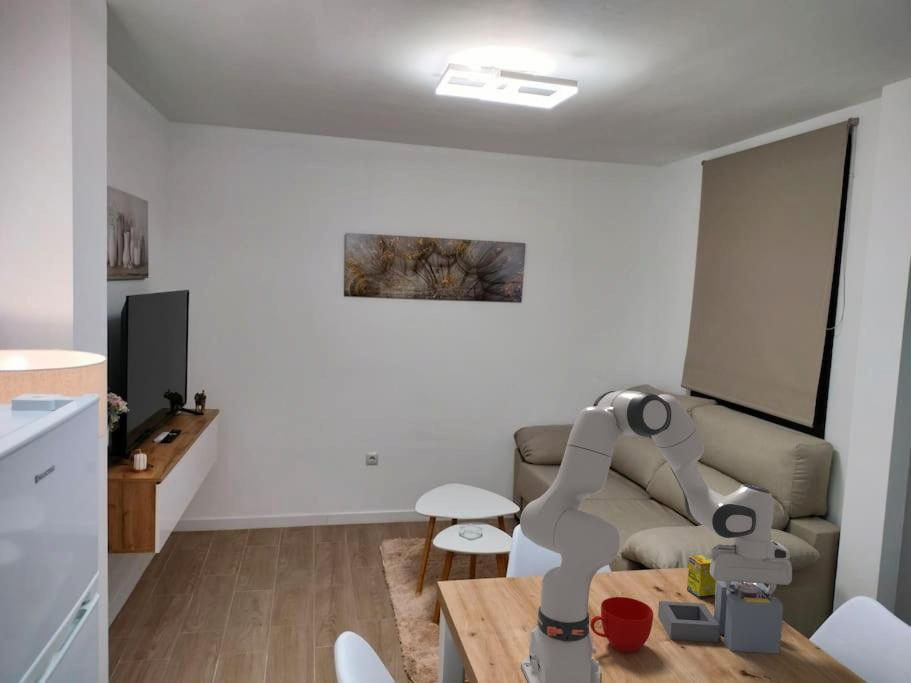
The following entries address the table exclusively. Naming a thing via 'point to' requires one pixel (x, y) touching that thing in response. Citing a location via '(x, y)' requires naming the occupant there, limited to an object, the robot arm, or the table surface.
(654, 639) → the table surface
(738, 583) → the beverage can
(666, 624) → the tray
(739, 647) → the socket
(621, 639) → the ceramic cup
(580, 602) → the robot arm
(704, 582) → the supplement box
